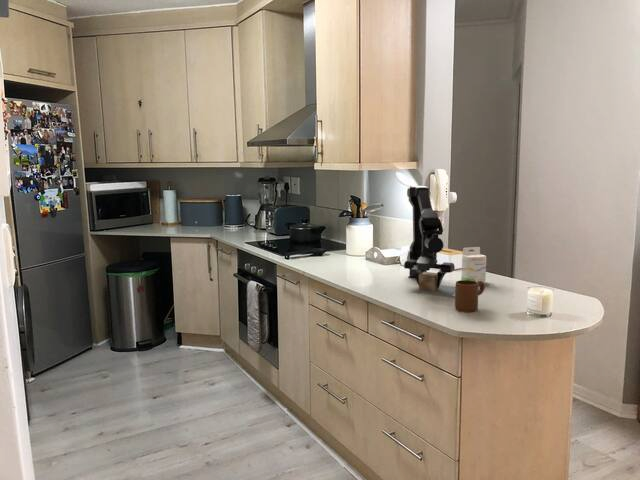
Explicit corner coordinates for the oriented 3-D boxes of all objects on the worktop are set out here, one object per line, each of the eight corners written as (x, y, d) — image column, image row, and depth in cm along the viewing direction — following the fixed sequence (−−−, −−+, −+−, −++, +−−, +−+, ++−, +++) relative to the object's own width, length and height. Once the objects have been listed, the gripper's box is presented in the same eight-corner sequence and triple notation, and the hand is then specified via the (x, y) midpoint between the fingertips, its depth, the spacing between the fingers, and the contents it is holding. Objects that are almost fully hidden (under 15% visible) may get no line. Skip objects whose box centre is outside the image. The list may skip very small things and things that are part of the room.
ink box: (467, 285, 212) (468, 249, 210) (460, 282, 217) (461, 247, 215) (486, 283, 215) (487, 248, 212) (479, 281, 219) (480, 246, 217)
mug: (475, 303, 187) (476, 277, 186) (491, 308, 181) (492, 281, 179) (450, 308, 181) (450, 281, 180) (466, 313, 175) (466, 286, 173)
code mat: (413, 293, 202) (413, 292, 202) (426, 284, 215) (426, 283, 215) (470, 300, 191) (470, 299, 191) (481, 290, 205) (481, 289, 205)
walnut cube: (418, 289, 206) (419, 274, 205) (423, 286, 211) (424, 271, 210) (433, 291, 203) (434, 276, 202) (438, 288, 208) (438, 273, 207)
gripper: (399, 249, 202) (398, 289, 205) (446, 253, 193) (446, 294, 195) (409, 245, 212) (408, 283, 214) (455, 248, 202) (454, 288, 205)
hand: (428, 287), depth 207 cm, fingers open, 7 cm apart
